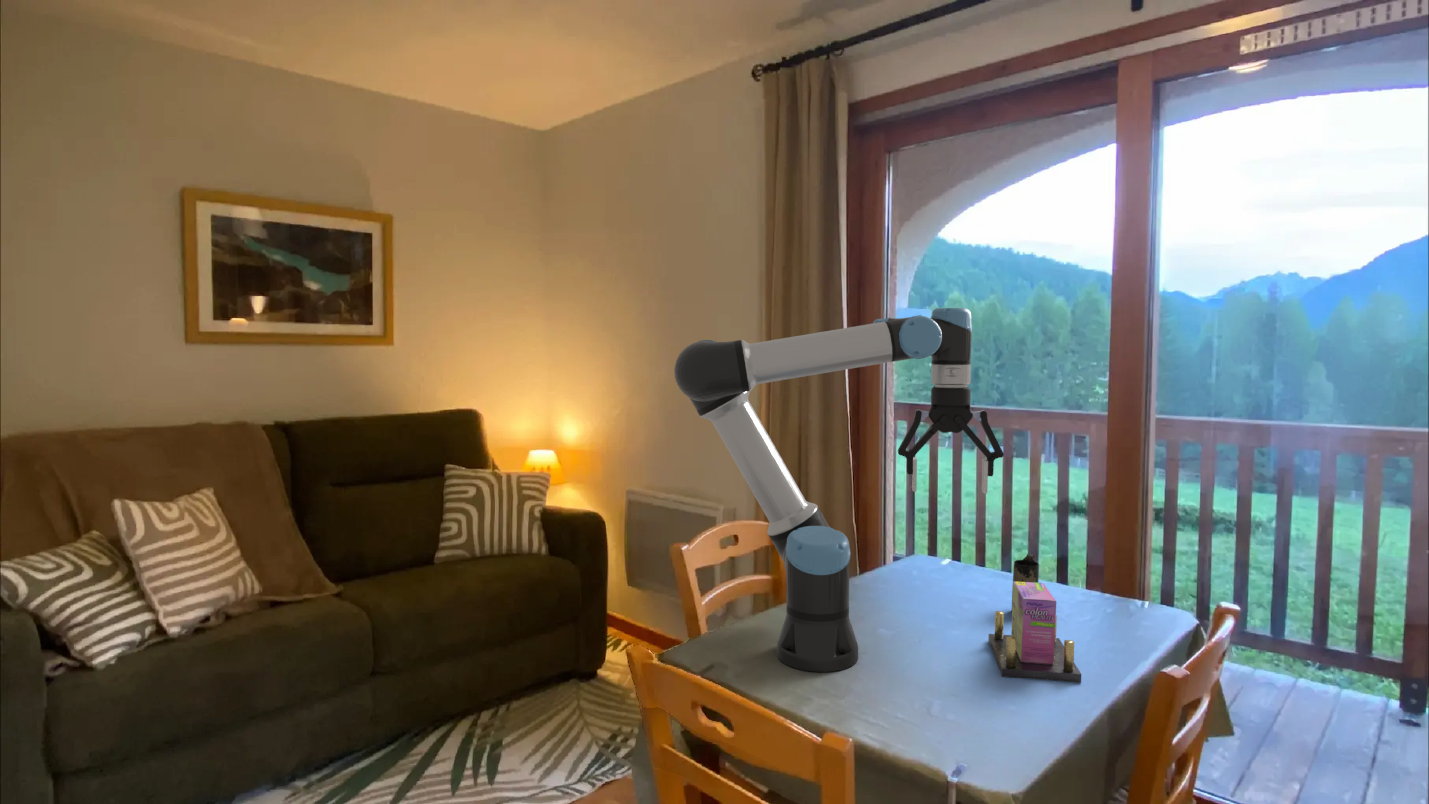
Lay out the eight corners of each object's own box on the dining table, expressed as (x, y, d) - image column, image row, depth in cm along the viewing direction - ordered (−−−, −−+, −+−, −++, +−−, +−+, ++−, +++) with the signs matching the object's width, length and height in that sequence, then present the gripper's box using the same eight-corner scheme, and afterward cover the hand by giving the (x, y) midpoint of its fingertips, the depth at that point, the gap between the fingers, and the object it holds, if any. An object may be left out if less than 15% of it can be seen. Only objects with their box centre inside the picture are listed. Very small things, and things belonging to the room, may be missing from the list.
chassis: (1001, 676, 140) (1002, 640, 140) (988, 641, 157) (989, 608, 157) (1081, 682, 138) (1082, 645, 137) (1058, 645, 154) (1059, 612, 154)
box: (1054, 665, 142) (1056, 599, 141) (1021, 662, 143) (1022, 598, 142) (1042, 643, 152) (1044, 582, 151) (1010, 641, 153) (1012, 580, 152)
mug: (1035, 619, 169) (1037, 563, 168) (1008, 614, 172) (1009, 559, 171) (1043, 608, 176) (1044, 555, 175) (1017, 604, 179) (1018, 551, 178)
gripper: (887, 386, 158) (885, 492, 159) (1020, 387, 153) (1017, 496, 155) (886, 384, 165) (885, 486, 167) (1013, 385, 160) (1011, 489, 162)
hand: (949, 491), depth 161 cm, fingers open, 13 cm apart
